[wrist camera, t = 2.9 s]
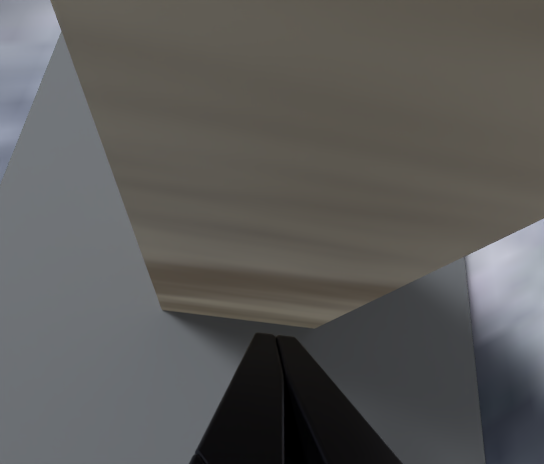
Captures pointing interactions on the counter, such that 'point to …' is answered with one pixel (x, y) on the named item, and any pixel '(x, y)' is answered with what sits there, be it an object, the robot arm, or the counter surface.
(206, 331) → the rubber mat
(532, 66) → the birch block
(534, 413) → the counter surface
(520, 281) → the counter surface
